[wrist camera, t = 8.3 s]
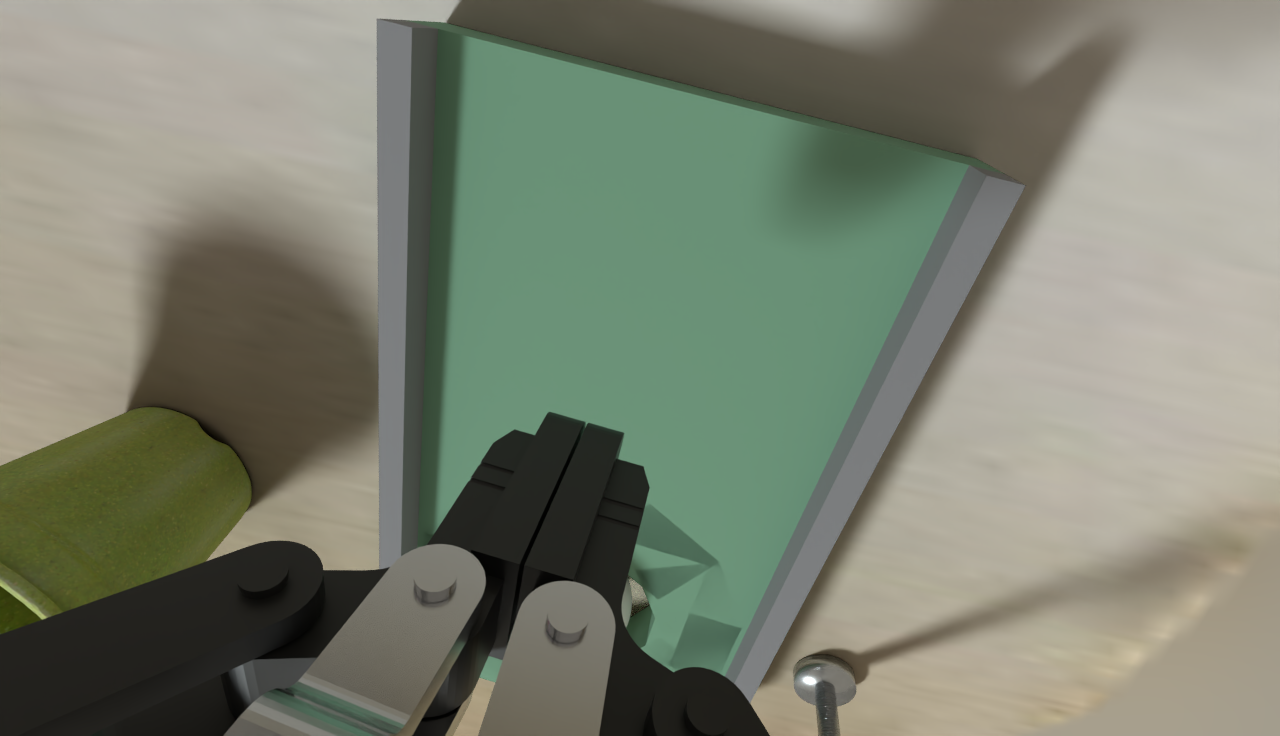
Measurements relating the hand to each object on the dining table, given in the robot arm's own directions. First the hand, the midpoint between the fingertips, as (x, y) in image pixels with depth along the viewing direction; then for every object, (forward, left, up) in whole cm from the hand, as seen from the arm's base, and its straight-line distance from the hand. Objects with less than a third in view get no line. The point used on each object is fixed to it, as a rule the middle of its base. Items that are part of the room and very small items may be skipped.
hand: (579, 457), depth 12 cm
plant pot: (+13, -17, -8) cm, 23 cm away
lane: (+6, 0, -8) cm, 10 cm away
